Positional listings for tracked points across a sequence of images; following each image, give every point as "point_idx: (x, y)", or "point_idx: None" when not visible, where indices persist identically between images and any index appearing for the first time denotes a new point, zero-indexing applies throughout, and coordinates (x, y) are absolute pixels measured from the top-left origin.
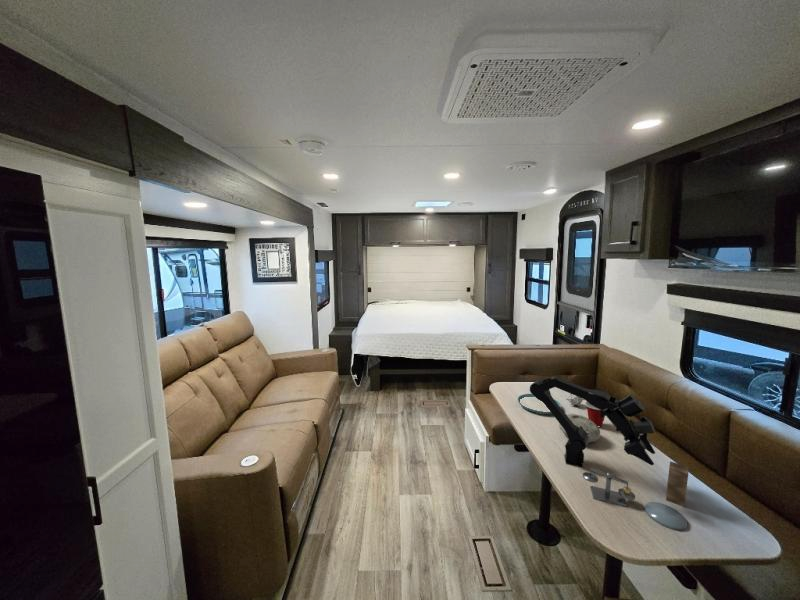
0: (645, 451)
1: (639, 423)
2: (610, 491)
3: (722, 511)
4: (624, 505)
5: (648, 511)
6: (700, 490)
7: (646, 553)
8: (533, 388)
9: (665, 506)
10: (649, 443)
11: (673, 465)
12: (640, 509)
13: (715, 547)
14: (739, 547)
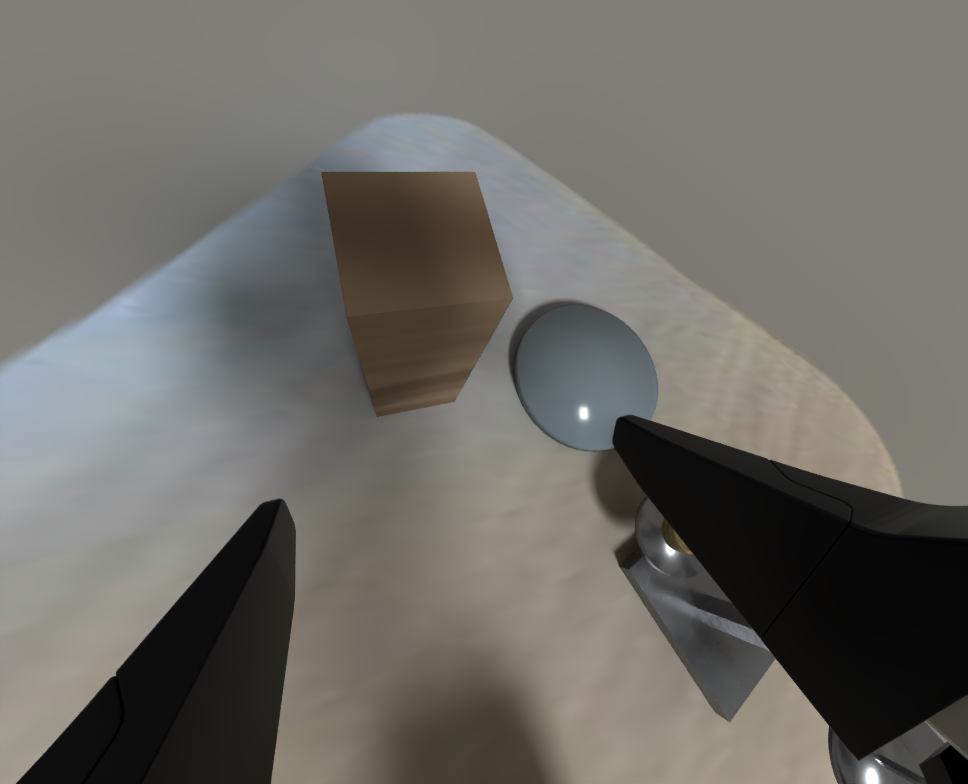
0: (862, 512)
1: None
2: (671, 613)
3: (318, 217)
4: None
5: None
6: (170, 294)
7: (806, 377)
8: None
9: (537, 384)
10: (190, 671)
11: (426, 277)
12: None
13: (591, 238)
14: (522, 187)
